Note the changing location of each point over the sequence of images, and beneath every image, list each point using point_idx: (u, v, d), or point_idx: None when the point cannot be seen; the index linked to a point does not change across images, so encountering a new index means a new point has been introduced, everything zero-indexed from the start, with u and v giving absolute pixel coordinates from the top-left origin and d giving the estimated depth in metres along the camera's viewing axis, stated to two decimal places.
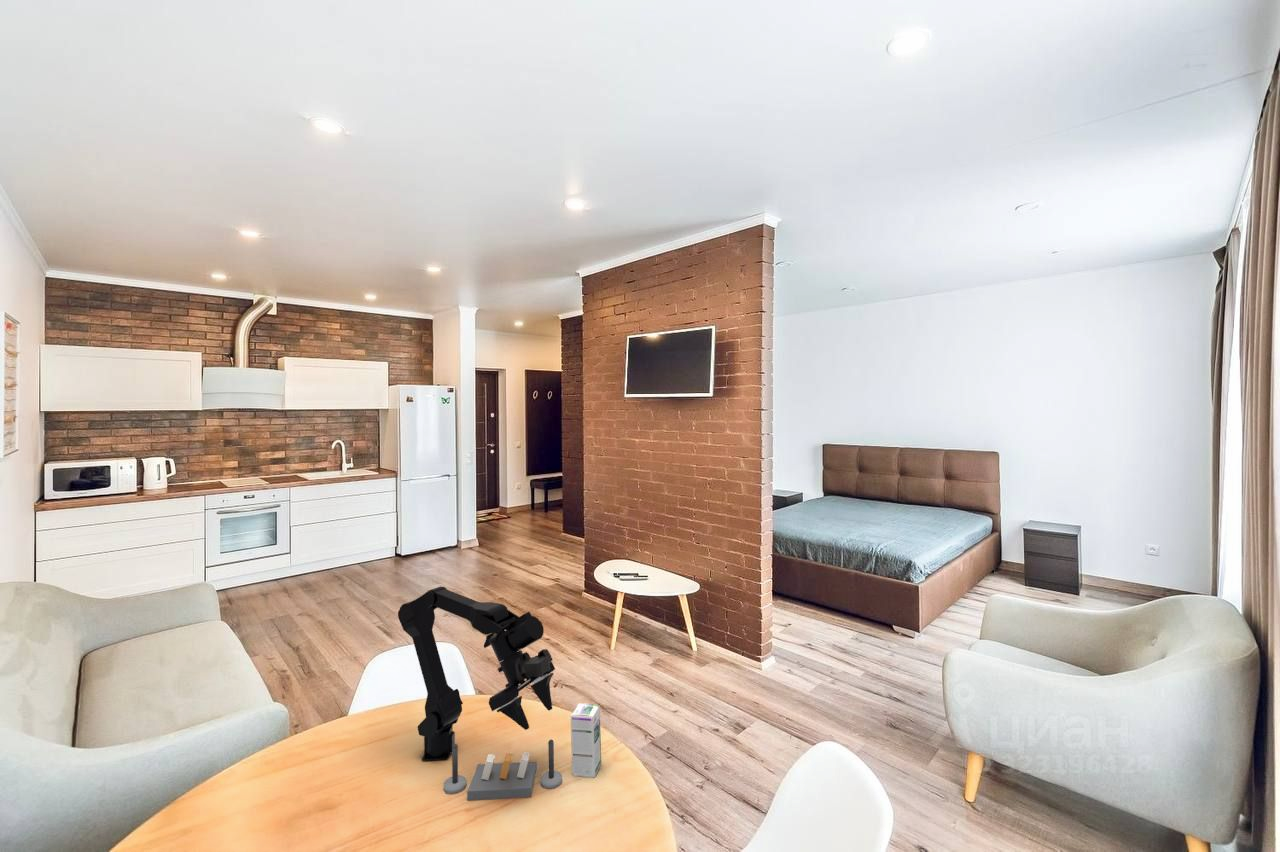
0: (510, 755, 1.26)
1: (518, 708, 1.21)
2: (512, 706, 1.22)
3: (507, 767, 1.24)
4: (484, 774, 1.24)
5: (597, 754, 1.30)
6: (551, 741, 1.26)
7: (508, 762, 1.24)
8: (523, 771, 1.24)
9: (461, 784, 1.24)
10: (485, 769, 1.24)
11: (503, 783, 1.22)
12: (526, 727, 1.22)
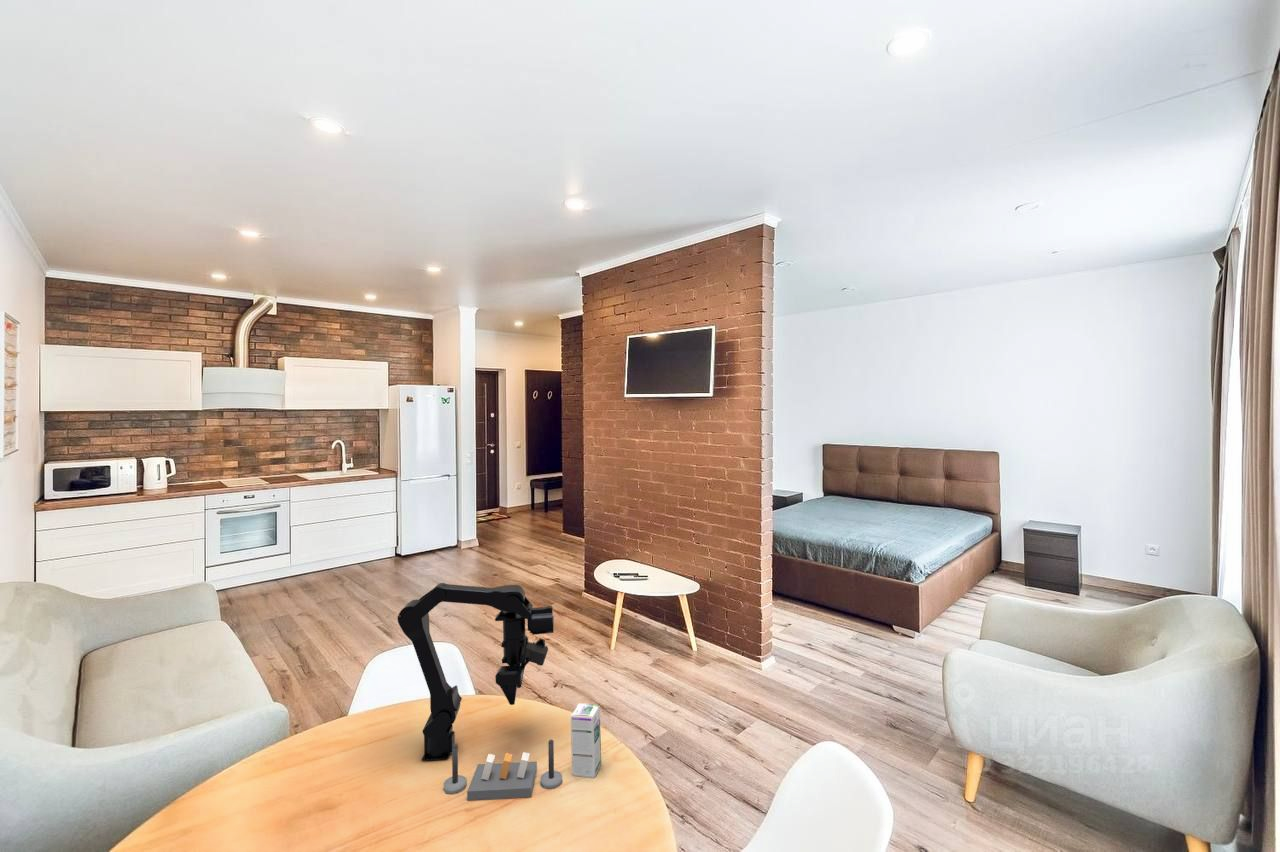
0: (510, 755, 1.26)
1: (516, 687, 1.35)
2: None
3: (507, 767, 1.24)
4: (484, 774, 1.24)
5: (597, 754, 1.30)
6: (551, 741, 1.26)
7: (508, 762, 1.24)
8: (523, 771, 1.24)
9: (461, 784, 1.24)
10: (485, 769, 1.24)
11: (503, 783, 1.22)
12: (512, 703, 1.36)
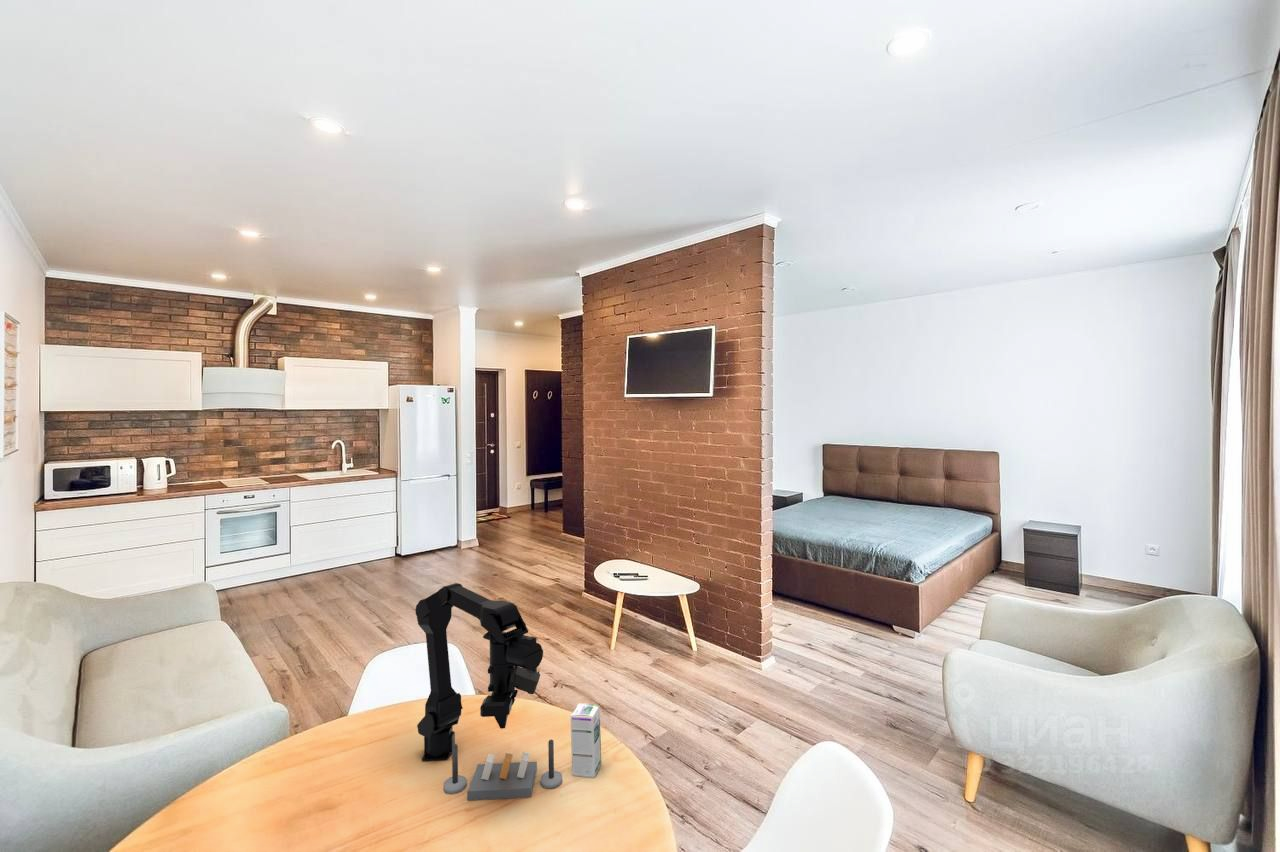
0: (510, 755, 1.26)
1: None
2: None
3: (507, 767, 1.24)
4: (484, 774, 1.24)
5: (597, 754, 1.30)
6: (551, 741, 1.26)
7: (508, 762, 1.24)
8: (523, 771, 1.24)
9: (461, 784, 1.24)
10: (485, 769, 1.24)
11: (503, 783, 1.22)
12: (503, 726, 1.25)
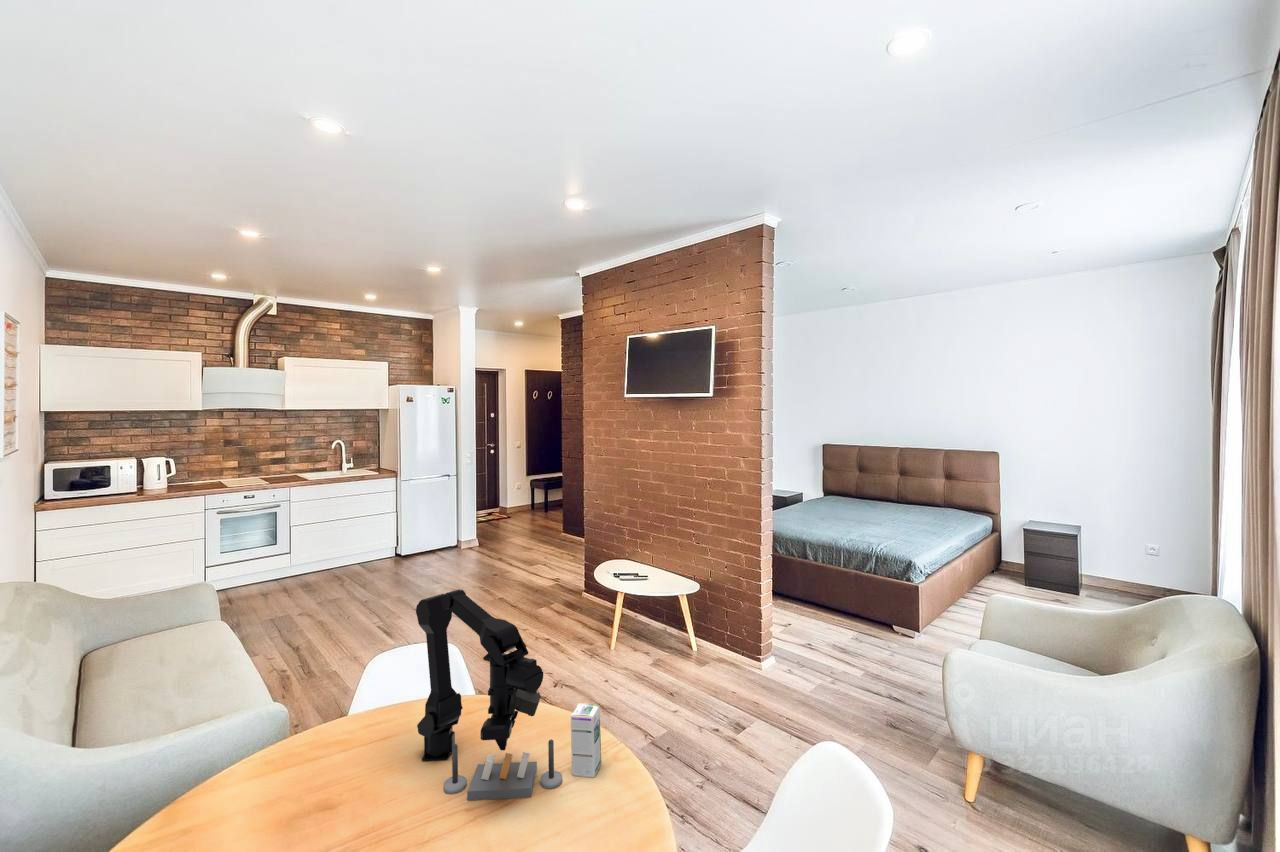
0: (510, 755, 1.26)
1: None
2: None
3: (507, 767, 1.24)
4: (484, 774, 1.24)
5: (597, 754, 1.30)
6: (551, 741, 1.26)
7: (508, 762, 1.24)
8: (523, 771, 1.24)
9: (461, 784, 1.24)
10: (485, 769, 1.24)
11: (503, 783, 1.22)
12: (503, 748, 1.25)
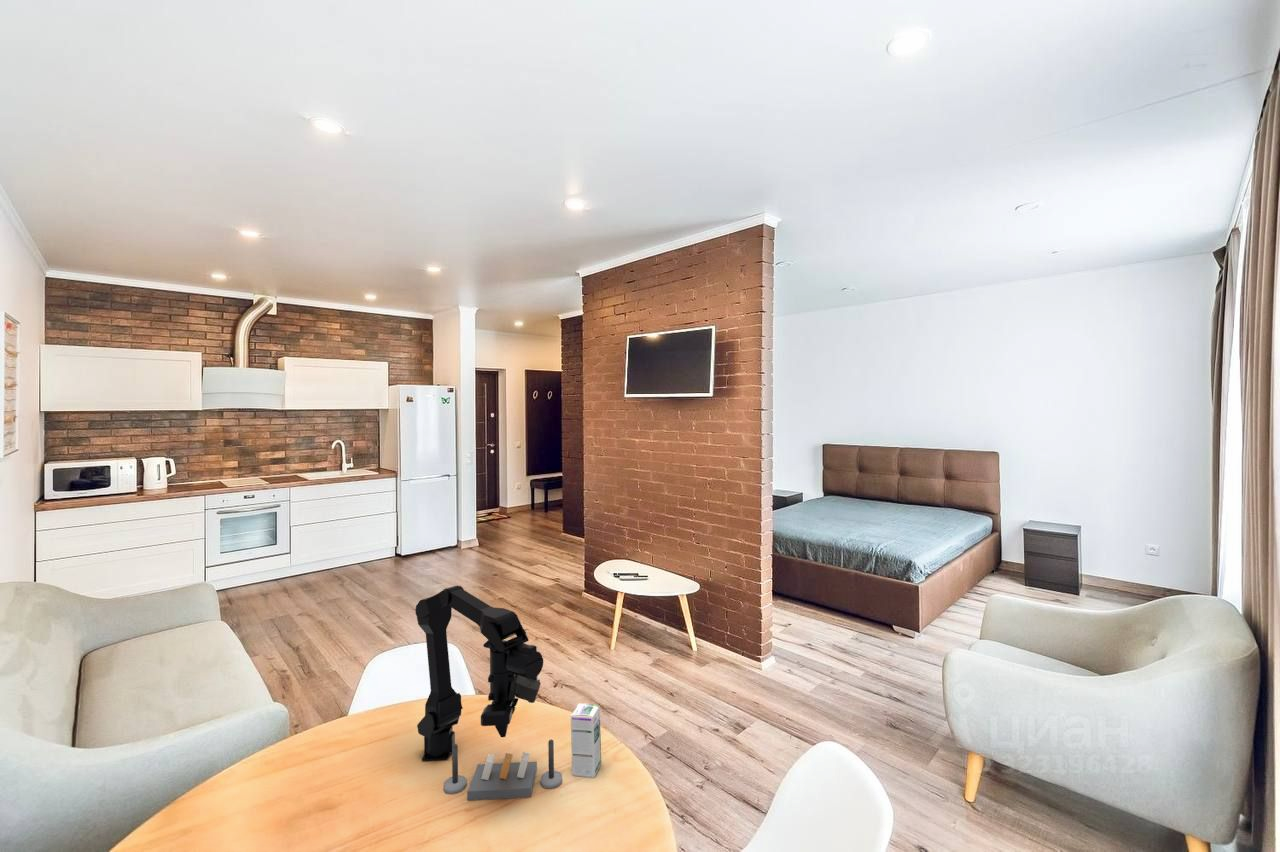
0: (510, 755, 1.26)
1: None
2: None
3: (507, 767, 1.24)
4: (484, 774, 1.24)
5: (597, 754, 1.30)
6: (551, 741, 1.26)
7: (508, 762, 1.24)
8: (523, 771, 1.24)
9: (461, 784, 1.24)
10: (485, 769, 1.24)
11: (503, 783, 1.22)
12: (503, 735, 1.25)
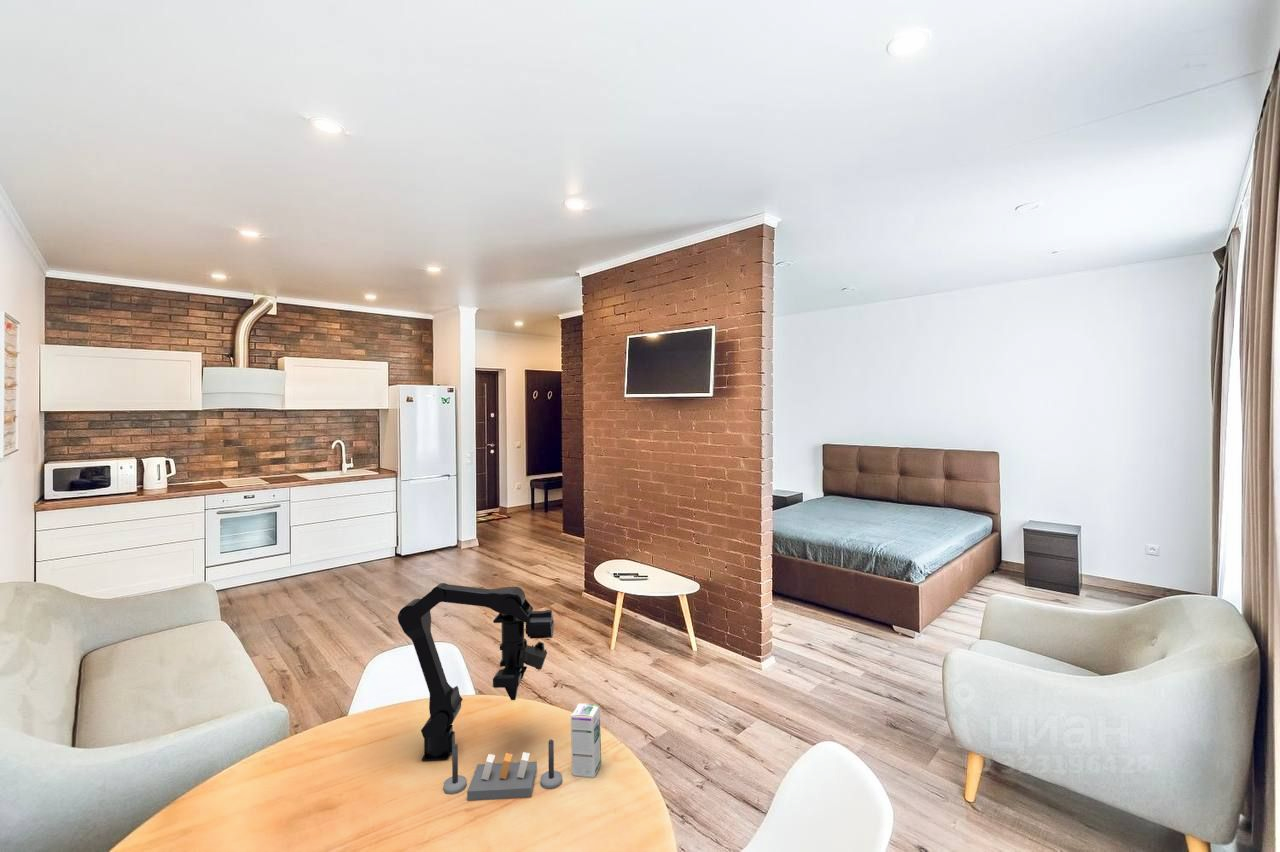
0: (510, 755, 1.26)
1: None
2: None
3: (507, 767, 1.24)
4: (484, 774, 1.24)
5: (597, 754, 1.30)
6: (551, 741, 1.26)
7: (508, 762, 1.24)
8: (523, 771, 1.24)
9: (461, 784, 1.24)
10: (485, 769, 1.24)
11: (503, 783, 1.22)
12: (513, 698, 1.39)
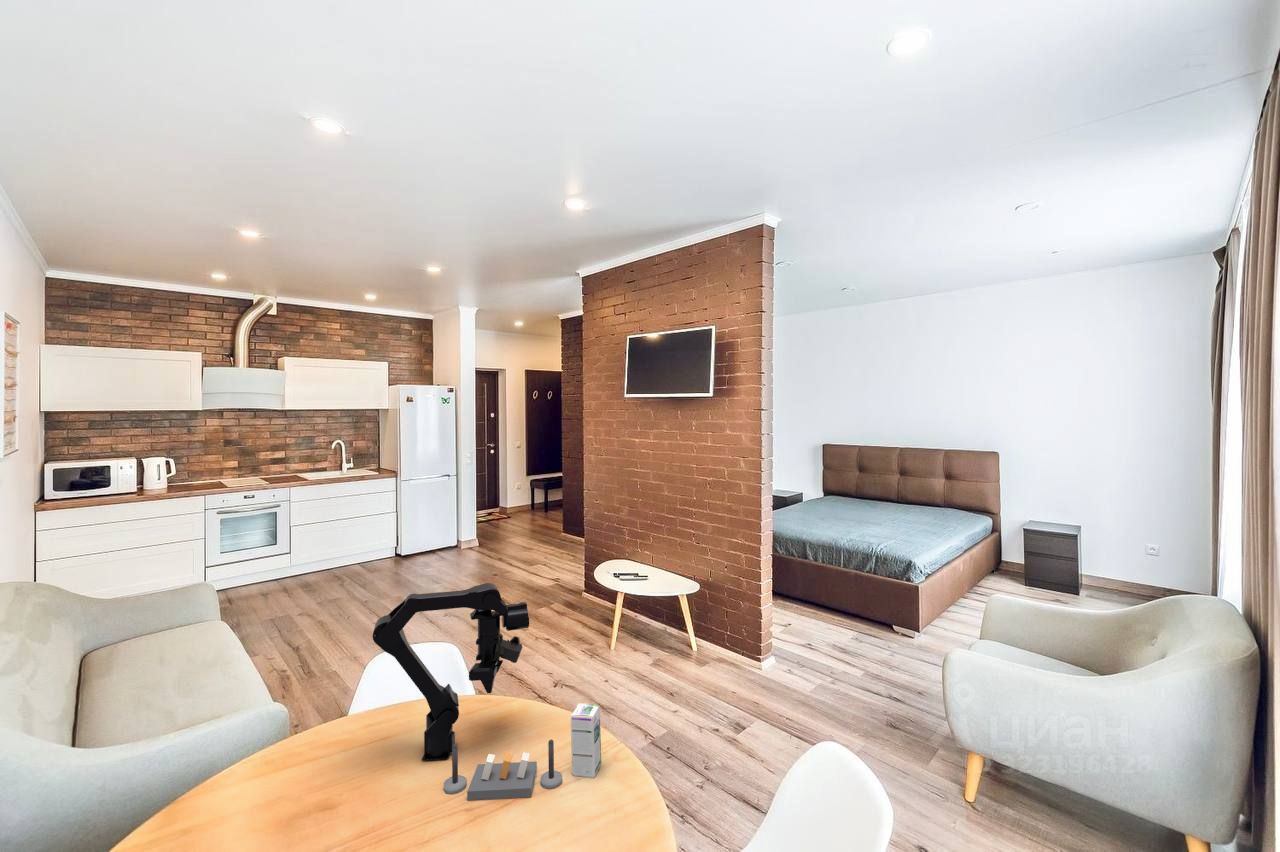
0: (510, 755, 1.26)
1: None
2: None
3: (507, 767, 1.24)
4: (484, 774, 1.24)
5: (597, 754, 1.30)
6: (551, 741, 1.26)
7: (508, 762, 1.24)
8: (523, 771, 1.24)
9: (461, 784, 1.24)
10: (485, 769, 1.24)
11: (503, 783, 1.22)
12: (489, 691, 1.43)
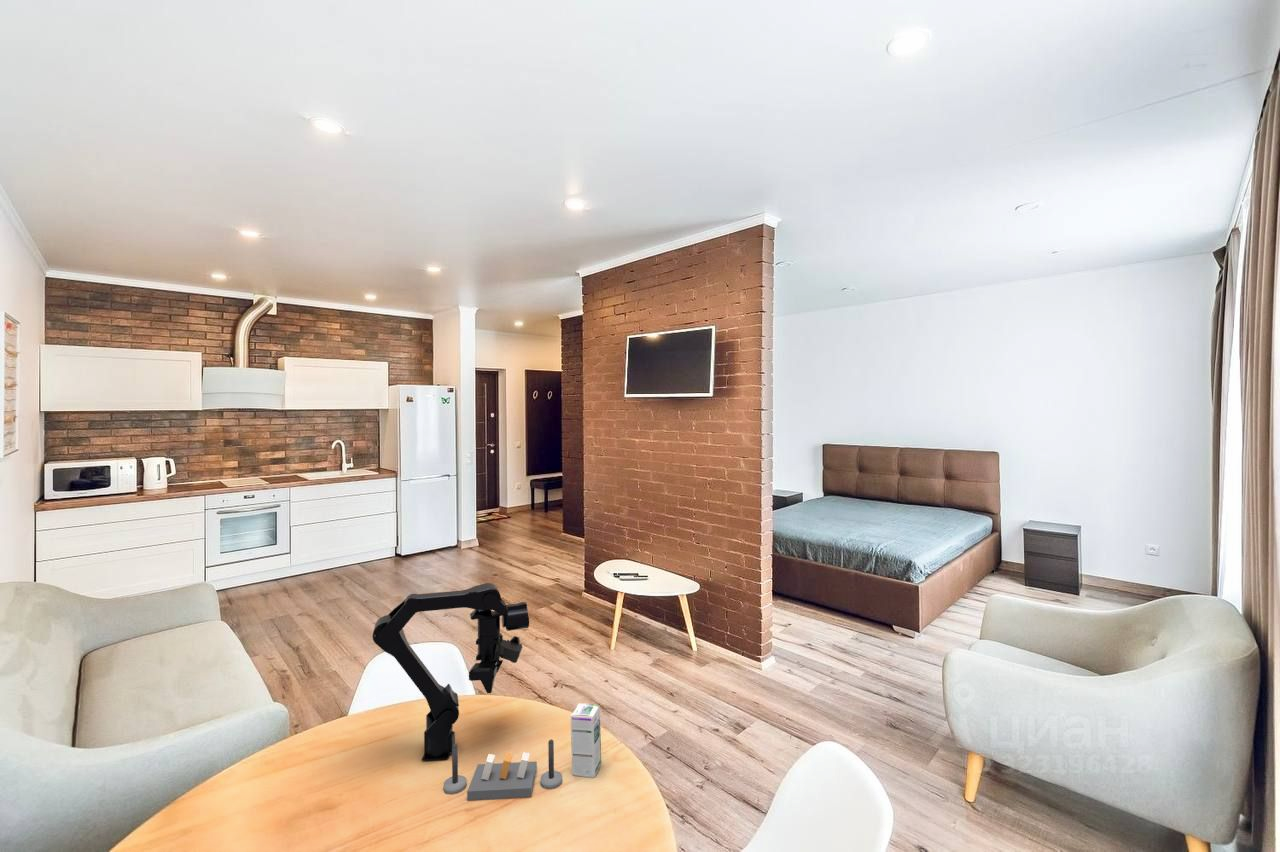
0: (510, 755, 1.26)
1: None
2: None
3: (507, 767, 1.24)
4: (484, 774, 1.24)
5: (597, 754, 1.30)
6: (551, 741, 1.26)
7: (508, 762, 1.24)
8: (523, 771, 1.24)
9: (461, 784, 1.24)
10: (485, 769, 1.24)
11: (503, 783, 1.22)
12: (489, 691, 1.43)
